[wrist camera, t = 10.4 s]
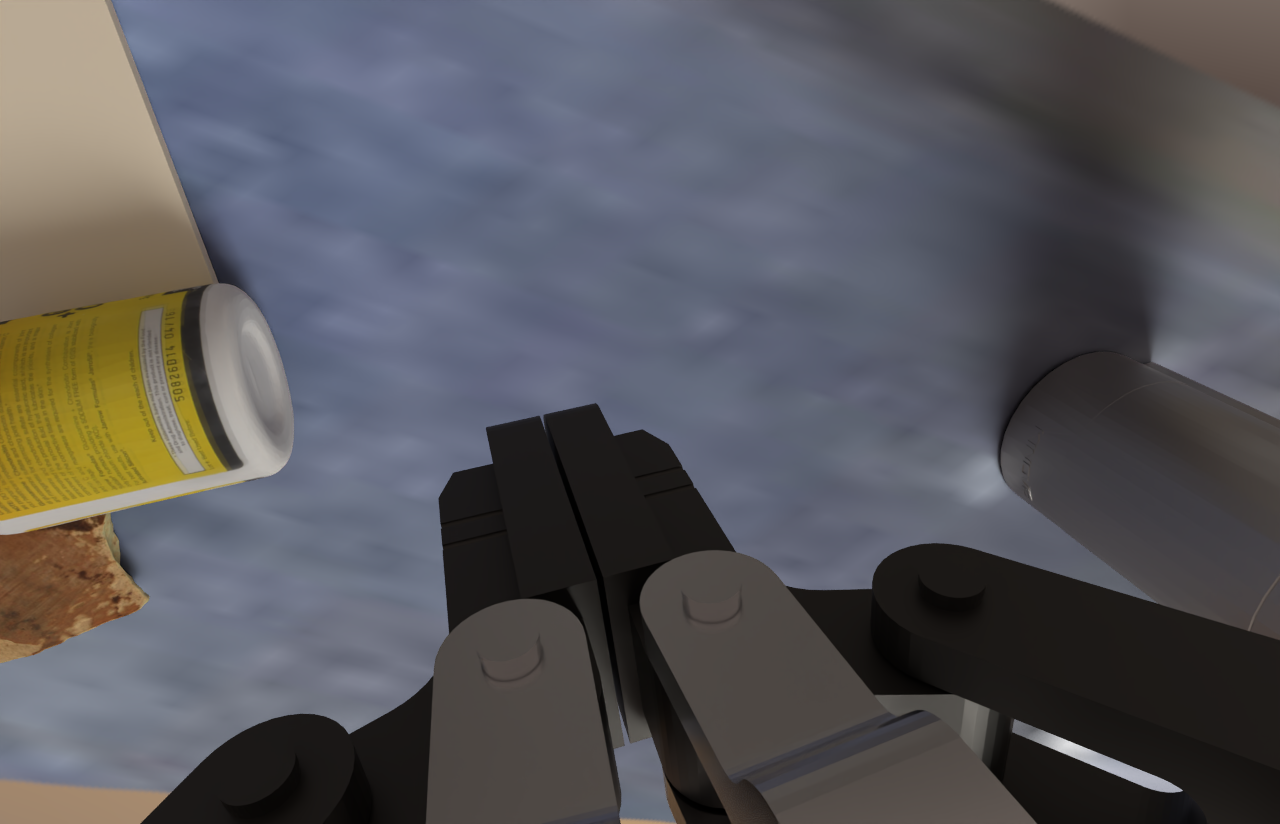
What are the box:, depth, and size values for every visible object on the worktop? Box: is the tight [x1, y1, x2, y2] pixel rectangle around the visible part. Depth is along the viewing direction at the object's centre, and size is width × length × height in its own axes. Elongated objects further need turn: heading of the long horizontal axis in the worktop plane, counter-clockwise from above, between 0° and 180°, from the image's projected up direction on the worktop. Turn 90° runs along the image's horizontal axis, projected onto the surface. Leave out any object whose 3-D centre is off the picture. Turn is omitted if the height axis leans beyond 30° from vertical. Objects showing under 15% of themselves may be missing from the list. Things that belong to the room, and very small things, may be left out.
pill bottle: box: [0, 283, 294, 535], centre depth 25 cm, size 6×6×12 cm
